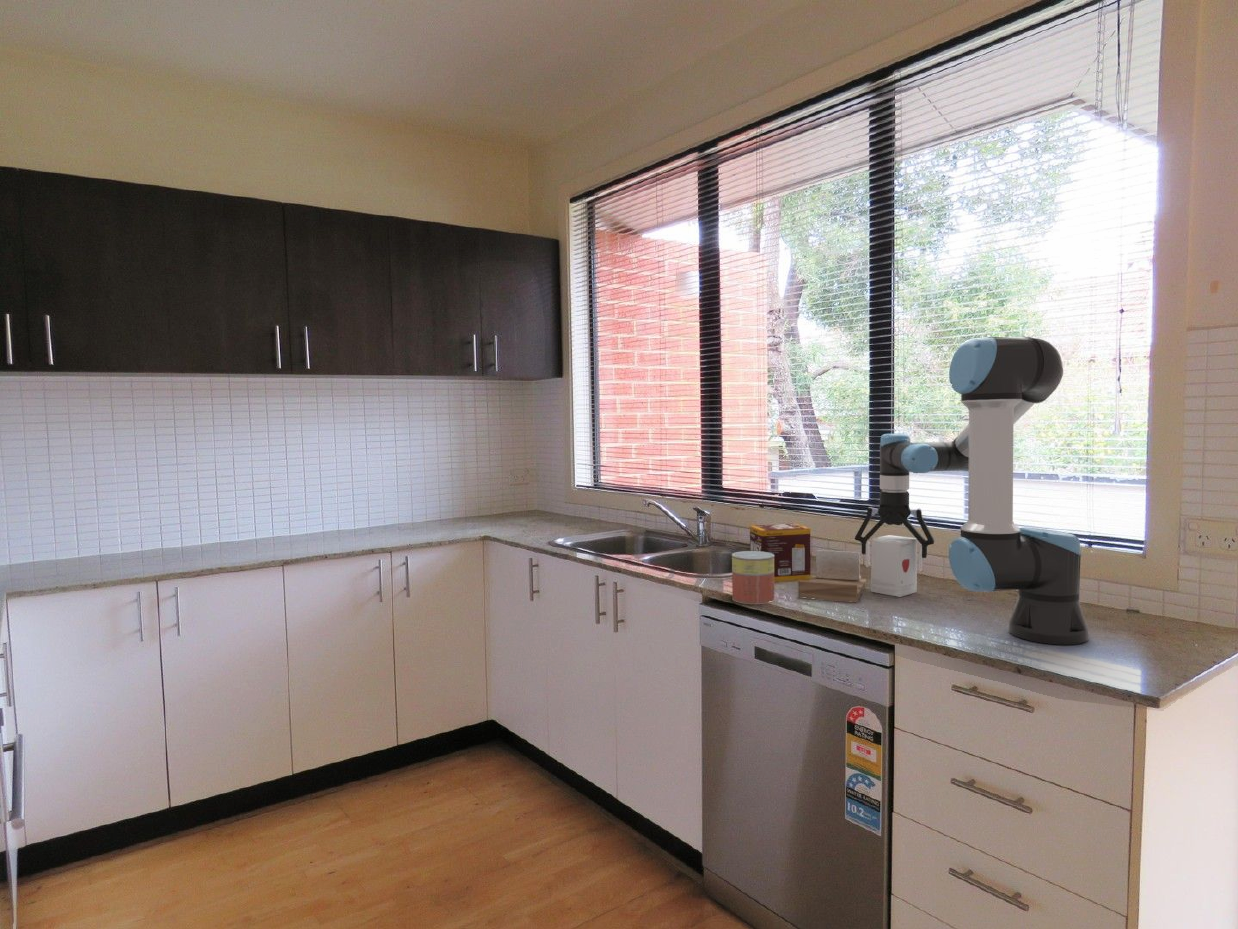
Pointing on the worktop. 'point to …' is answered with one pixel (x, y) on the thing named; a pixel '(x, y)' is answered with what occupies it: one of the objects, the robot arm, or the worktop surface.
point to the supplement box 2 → (894, 565)
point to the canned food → (753, 577)
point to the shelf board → (831, 589)
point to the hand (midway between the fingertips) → (893, 568)
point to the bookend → (838, 565)
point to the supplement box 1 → (784, 549)
